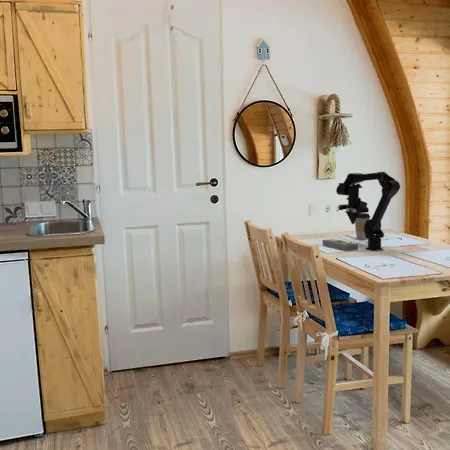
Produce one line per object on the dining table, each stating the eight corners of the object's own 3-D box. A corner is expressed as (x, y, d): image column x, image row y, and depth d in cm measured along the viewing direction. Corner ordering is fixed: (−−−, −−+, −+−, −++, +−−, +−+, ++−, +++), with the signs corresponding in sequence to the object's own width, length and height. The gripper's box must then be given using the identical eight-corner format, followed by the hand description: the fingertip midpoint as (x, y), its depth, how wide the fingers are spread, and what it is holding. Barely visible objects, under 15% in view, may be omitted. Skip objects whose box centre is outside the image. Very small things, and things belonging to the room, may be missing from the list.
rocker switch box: (357, 249, 279) (357, 243, 278) (346, 251, 275) (346, 245, 275) (333, 243, 296) (333, 238, 296) (322, 245, 293) (322, 239, 292)
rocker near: (352, 243, 279) (352, 241, 279) (347, 244, 277) (346, 242, 277) (344, 244, 285) (344, 242, 285) (339, 244, 283) (339, 242, 283)
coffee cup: (366, 240, 304) (366, 215, 302) (350, 239, 310) (351, 214, 308) (372, 238, 312) (372, 213, 309) (357, 236, 317) (357, 212, 315)
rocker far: (340, 241, 288) (340, 239, 288) (335, 242, 286) (335, 240, 286) (332, 240, 294) (332, 238, 293) (327, 241, 292) (327, 239, 292)
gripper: (376, 196, 283) (376, 224, 285) (353, 194, 299) (353, 220, 301) (360, 197, 278) (360, 226, 280) (338, 195, 294) (337, 222, 296)
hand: (353, 224), depth 289 cm, fingers closed
